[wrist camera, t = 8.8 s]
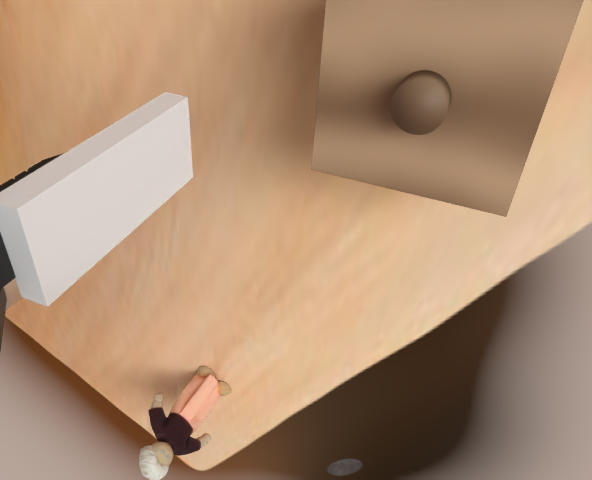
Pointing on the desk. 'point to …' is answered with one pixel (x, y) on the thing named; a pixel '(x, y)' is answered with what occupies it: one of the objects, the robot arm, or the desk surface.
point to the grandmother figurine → (180, 423)
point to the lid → (437, 93)
